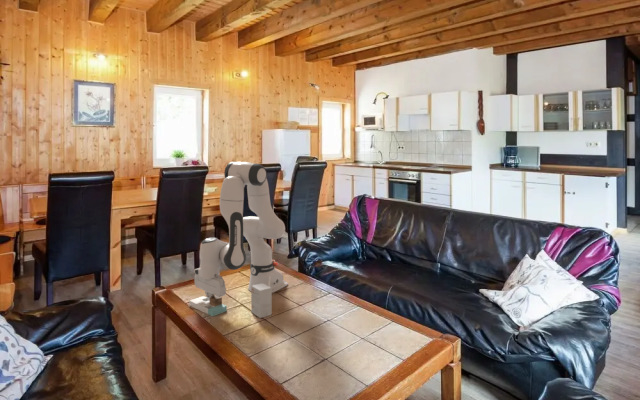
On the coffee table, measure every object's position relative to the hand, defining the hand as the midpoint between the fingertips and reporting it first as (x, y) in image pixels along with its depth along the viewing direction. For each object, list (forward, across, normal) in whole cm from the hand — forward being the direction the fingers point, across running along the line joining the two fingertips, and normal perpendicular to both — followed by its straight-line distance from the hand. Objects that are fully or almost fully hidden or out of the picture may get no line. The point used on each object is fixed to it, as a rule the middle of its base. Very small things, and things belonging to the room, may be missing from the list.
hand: (210, 300), depth 195 cm
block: (+1, -4, 0) cm, 4 cm away
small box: (+4, -23, -12) cm, 26 cm away
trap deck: (+3, 0, +2) cm, 4 cm away
